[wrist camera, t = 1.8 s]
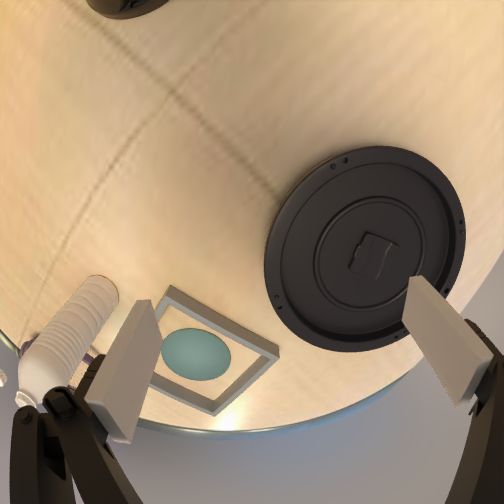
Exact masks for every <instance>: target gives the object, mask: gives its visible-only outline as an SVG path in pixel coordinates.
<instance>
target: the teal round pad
mask: <svg viewBox="0 0 504 504" xmlns="http://www.w3.org/2000/svg"><path fill="white" fill-rule="evenodd" d="M161 354H162V358H163V360H164V362H165V364H166V365H167V366H168V367H169V368H170V369H171V370H172V371H173V372H175V373H176V374H178V375H180V376H182V377H184V378H187V379H191V380H197V381H206V380H211V379H215V378H217V377H219V376H221V375H222V374H224V373H225V372H226V370H227V369H228V367H229V365H230V360H231V357H230V352H229V349H228V347H227V346H226V344H225V343H224V342H223V341H222V340H221V339H220V338H218V337H217V336H215V335H214V334H212V333H210V332H207V331H204V330H200V329H192V328H188V329H181V330H177V331H175V332H173V333H171V334H169V335H168V336H167V337H166V338H165V340H164V343H163V346H162V348H161Z"/></svg>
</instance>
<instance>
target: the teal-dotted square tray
mask: <svg viewBox="0 0 504 504" xmlns="http://www.w3.org/2000/svg"><path fill="white" fill-rule="evenodd" d="M168 304H170V305H171V306H173V307H175V308H176V309H178V310H180V311H182V312H183V313H185V314H187V315H188V316H190V317H192V318H194V319H195V320H197V321H199V322H201V323H203V324H204V325H206V326H208V327H210V328H212V329H213V330H215V331H217V332H219V333H221V334H223V335H225V336H226V337H228V338H230V339H232V340H234V341H236V342H238V343H240V344H242V345H243V346H245V347H247V348H249V349H251V350H253V351H255V352H257V353H259V354H261V355H262V356H261V357H260V358H259V359H258V360H257V361H256V362H255V363H253V364H252V365H251V366H250V367H249V368H248V369H247V370H246V371H245V372H244V373H243V374H242V375H241V376H240V377H239V378H238V379H237V380H236V381H235V382H234V383H233V384H232V385H231V386H230V387H229V388H228V389H227V390H226V391H224V392H223V393H222V394H221V395H220V396H219V397H218V398H217V399H216V400H215V401H213V400H210V399H208V398H206V397H204V396H201V395H199V394H197V393H195V392H193V391H190V390H188V389H186V388H184V387H182V386H180V385H178V384H176V383H174V382H172V381H170V380H168V379H166V378H164V377H162V376H160V375H158V374H156V373H154V372H153V375H152V378H151V381H150V384H149V387H151V388H153V389H155V390H157V391H159V392H161V393H163V394H165V395H167V396H169V397H171V398H173V399H175V400H177V401H180V402H182V403H184V404H186V405H188V406H191V407H193V408H195V409H198V410H200V411H202V412H205V413H207V414H209V415H212V416H214V417H215V416H216V415H217V414H219V413H220V412H221V411H222V410H223V409H224V408H226V407H227V406H228V405H229V404H230V403H231V402H232V401H234V400H235V399H236V398H237V397H238V396H239V395H240V394H242V393H243V392H244V391H245V390H246V389H247V388H248V387H249V386H250V385H251V384H253V383H254V382H255V381H256V380H257V379H258V378H259V377H260V376H261V375H262V374H263V373H264V372H266V371H267V370H268V369H269V368H270V367H271V366H272V365H273V364H274V363H275V362H276V361H277V360H278V359H279V358H280V356H279V348H278V345H276V344H274V343H272V342H270V341H268V340H266V339H264V338H262V337H260V336H259V335H257V334H255V333H253V332H251V331H249V330H247V329H246V328H244V327H242V326H240V325H238V324H237V323H235V322H233V321H231V320H229V319H228V318H226V317H224V316H222V315H220V314H219V313H217V312H215V311H213V310H212V309H210V308H208V307H207V306H205V305H203V304H201V303H200V302H198V301H196V300H195V299H193V298H191V297H189V296H188V295H186V294H184V293H183V292H181V291H179V290H178V289H176V288H174V287H173V286H171V285H170V286H169V288H168V289H167V291H166V293H165V294H164V296H163V297H162V299H161V301H160V302H159V304H158V305H157V307H156V309H155V310H154V313H155V316H156V320H157V321H158V319H159V318H160V316H161V315H162V313H163V312H164V310H165V308H166V307H167V305H168Z"/></svg>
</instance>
